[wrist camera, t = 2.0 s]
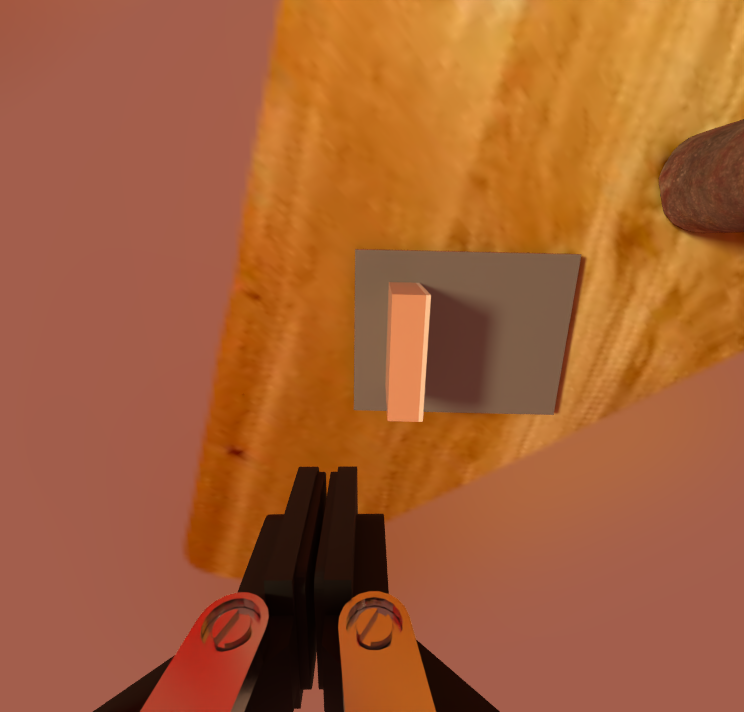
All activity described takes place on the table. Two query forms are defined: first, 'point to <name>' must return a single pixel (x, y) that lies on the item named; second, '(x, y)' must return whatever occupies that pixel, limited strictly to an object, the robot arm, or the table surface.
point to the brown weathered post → (706, 181)
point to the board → (470, 327)
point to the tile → (406, 350)
